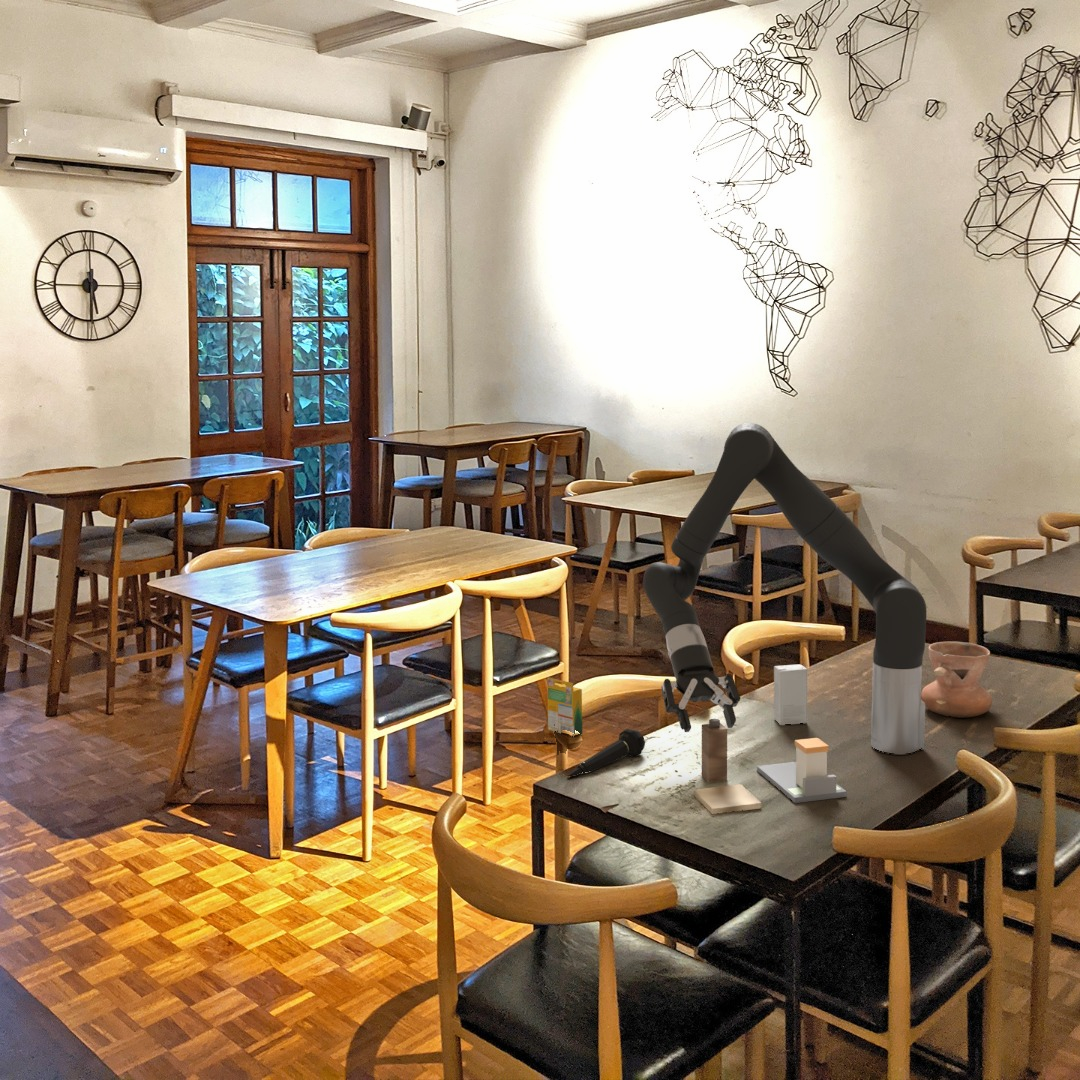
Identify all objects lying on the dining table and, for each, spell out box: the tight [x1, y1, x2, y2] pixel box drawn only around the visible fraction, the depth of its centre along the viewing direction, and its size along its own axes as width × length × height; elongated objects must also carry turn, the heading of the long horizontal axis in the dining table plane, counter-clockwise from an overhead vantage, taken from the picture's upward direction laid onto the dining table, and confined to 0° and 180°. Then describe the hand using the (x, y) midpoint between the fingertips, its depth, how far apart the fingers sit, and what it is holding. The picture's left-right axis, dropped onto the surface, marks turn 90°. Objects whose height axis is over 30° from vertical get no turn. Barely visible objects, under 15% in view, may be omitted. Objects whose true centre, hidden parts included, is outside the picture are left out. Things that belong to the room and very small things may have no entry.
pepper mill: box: [701, 718, 728, 783], centre depth 219 cm, size 4×4×11 cm
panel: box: [756, 761, 848, 804], centre depth 216 cm, size 10×16×4 cm, turn 13°
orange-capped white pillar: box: [794, 737, 830, 788], centre depth 211 cm, size 4×4×8 cm
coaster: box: [693, 783, 762, 815], centre depth 209 cm, size 9×9×1 cm
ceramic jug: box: [921, 641, 993, 718], centre depth 253 cm, size 18×14×14 cm
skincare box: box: [773, 664, 808, 726], centre depth 249 cm, size 6×4×12 cm
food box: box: [546, 676, 583, 738], centre depth 246 cm, size 7×3×12 cm, turn 48°
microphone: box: [566, 728, 646, 777], centre depth 228 cm, size 6×6×20 cm
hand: (710, 728), depth 220 cm, fingers open, 8 cm apart
